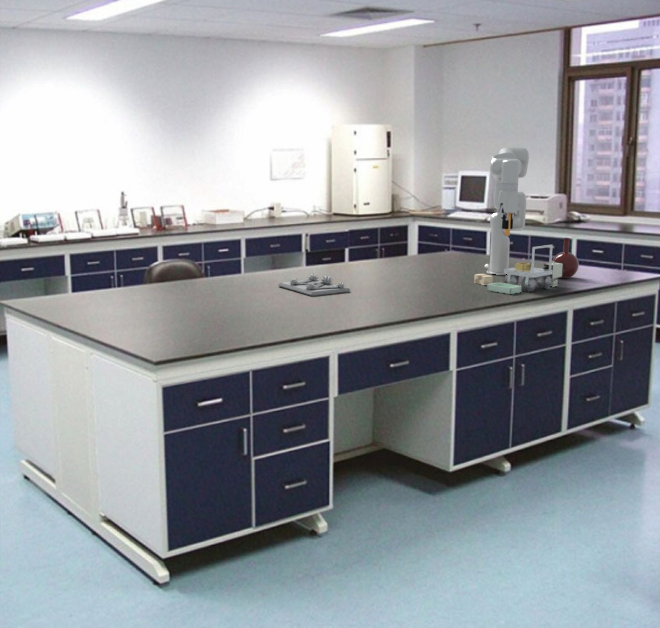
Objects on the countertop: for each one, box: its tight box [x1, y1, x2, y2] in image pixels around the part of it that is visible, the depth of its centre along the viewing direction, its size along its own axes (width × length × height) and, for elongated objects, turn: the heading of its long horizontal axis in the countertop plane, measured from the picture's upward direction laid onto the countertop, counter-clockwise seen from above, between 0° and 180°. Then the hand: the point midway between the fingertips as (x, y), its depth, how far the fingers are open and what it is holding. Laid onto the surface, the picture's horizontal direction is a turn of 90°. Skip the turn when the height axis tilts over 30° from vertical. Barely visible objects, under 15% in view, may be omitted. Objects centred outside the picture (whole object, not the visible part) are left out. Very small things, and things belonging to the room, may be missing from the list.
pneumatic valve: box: [542, 261, 564, 288], centre depth 418 cm, size 6×12×12 cm, turn 131°
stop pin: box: [504, 213, 511, 237], centre depth 398 cm, size 3×3×11 cm
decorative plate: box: [278, 273, 351, 297], centre depth 405 cm, size 30×22×7 cm
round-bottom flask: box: [552, 237, 580, 279], centre depth 441 cm, size 13×13×20 cm
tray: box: [486, 281, 523, 295], centre depth 404 cm, size 13×8×3 cm, turn 42°
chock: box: [473, 273, 494, 286], centre depth 423 cm, size 8×5×4 cm, turn 26°
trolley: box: [503, 244, 554, 293], centre depth 411 cm, size 17×16×21 cm
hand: (507, 228), depth 398 cm, fingers closed on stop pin, 2 cm apart
